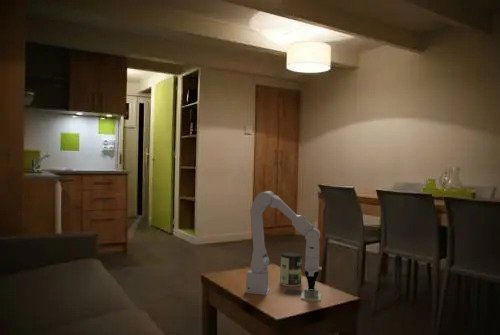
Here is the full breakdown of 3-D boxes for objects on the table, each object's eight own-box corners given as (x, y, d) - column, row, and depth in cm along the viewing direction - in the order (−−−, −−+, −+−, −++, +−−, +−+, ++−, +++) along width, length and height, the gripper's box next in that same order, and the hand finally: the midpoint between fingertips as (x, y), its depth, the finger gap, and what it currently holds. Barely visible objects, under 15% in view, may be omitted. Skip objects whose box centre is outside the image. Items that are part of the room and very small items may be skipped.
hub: (300, 300, 158) (301, 291, 158) (302, 294, 165) (302, 286, 165) (320, 302, 156) (320, 293, 156) (320, 296, 164) (321, 287, 164)
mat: (284, 294, 165) (284, 293, 165) (286, 289, 171) (286, 288, 171) (300, 295, 163) (300, 295, 163) (301, 290, 170) (301, 290, 170)
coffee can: (303, 282, 183) (304, 252, 183) (298, 288, 174) (299, 257, 174) (283, 279, 187) (284, 250, 187) (276, 284, 178) (277, 254, 178)
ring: (304, 297, 158) (304, 290, 158) (304, 293, 164) (304, 286, 164) (317, 298, 157) (317, 291, 157) (318, 294, 163) (318, 287, 163)
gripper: (321, 261, 153) (320, 295, 153) (322, 253, 167) (321, 284, 167) (303, 260, 154) (302, 293, 154) (306, 252, 168) (305, 283, 168)
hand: (311, 288), depth 161 cm, fingers closed
